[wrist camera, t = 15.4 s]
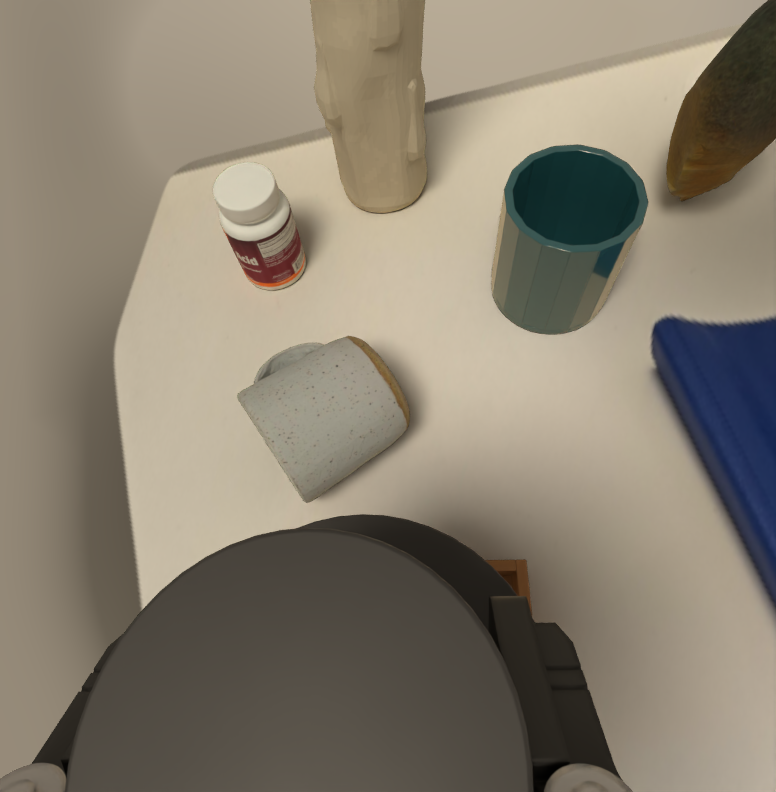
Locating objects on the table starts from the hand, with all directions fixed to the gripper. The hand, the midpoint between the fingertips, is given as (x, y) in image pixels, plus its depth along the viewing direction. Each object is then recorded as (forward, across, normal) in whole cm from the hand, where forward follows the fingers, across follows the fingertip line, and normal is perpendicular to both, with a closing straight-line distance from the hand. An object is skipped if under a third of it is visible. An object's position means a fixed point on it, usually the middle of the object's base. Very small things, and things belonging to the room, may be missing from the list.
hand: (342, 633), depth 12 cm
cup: (+33, -11, -1) cm, 35 cm away
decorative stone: (+38, -22, -6) cm, 44 cm away
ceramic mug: (+26, +5, +6) cm, 27 cm away
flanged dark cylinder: (+2, 0, +5) cm, 5 cm away
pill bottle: (+35, +9, -3) cm, 36 cm away
